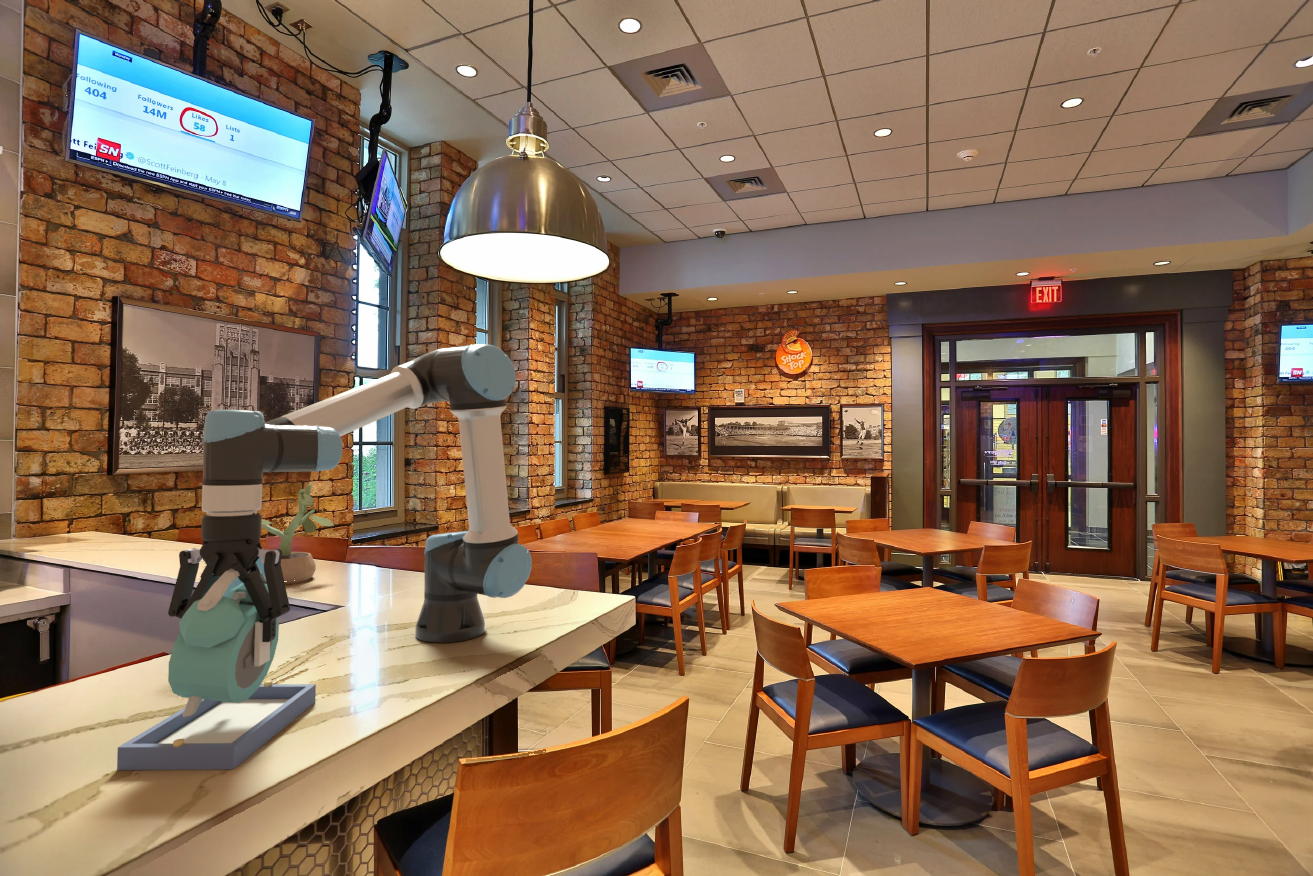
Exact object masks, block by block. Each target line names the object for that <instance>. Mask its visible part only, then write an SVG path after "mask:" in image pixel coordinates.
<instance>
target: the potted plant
mask: <svg viewBox="0 0 1313 876" xmlns="http://www.w3.org/2000/svg"><path fill="white" fill-rule="evenodd" d="M312 486H313V484H307V485H306V489H304V488H303V489H300V490H299V491H298V493H297V499H298V512H297V513H296V515H295V516H294V517H293V518H292V519H291V522H290V524H288V526H287V527H286V529H285V530H284V532H283V531H281V530H280V529H278V528H275V527H273V526H271V525H275V524H277V523H276V522H277V521H276V522H271V521H269V520H266V519H263V518H262V521H261V528H263V529H265V530H266V532H269V533H270V534H272V535H276V536H278V537H280V538H281V540H280V542H279V547H278V549H280V550H282V558H281V568H282V573H283V578H284V581H287V582H285V585H291V584H292V585H293V584H299V583H303V582H306V581H308V580H309V579H311V578H312V577H313V576H314V574H315V572H316V566H317V565H316V563H315V560H314V558H313V555H312V554H311V552H306V551H305V552H304V551H292V541H293V539H294V535H295V532H296V530H297V529H298V528H299V527H300V526H301V525H302V527H303V529H304V533H305V534H307V533H314V532H315V531H316V529H318V528H317V524H319V525H321V526H324V527H334V526H336V524H335V523H334V522H333V521H332V520H331V519H329V518H326V517H321V516H317V515H314V513H315V511H316V510H315V509H314V508H313V509H311V510H310V511H309V512H307V509H308V506H310V507H313V505H314V503H315V500H314V498H313V496H311V492H312V488H313V487H312ZM306 512H307V513H306ZM310 517H311V518H310ZM315 523H316V524H315ZM294 580H295V581H294Z"/></svg>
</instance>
